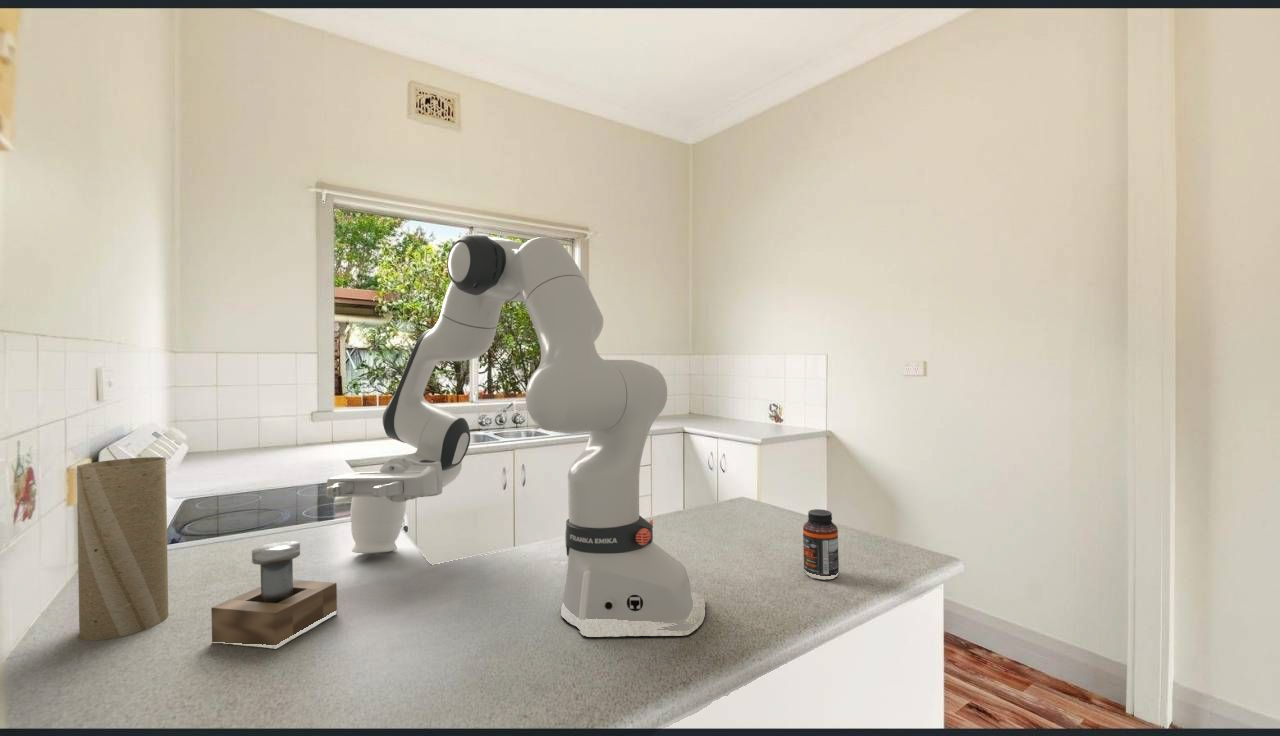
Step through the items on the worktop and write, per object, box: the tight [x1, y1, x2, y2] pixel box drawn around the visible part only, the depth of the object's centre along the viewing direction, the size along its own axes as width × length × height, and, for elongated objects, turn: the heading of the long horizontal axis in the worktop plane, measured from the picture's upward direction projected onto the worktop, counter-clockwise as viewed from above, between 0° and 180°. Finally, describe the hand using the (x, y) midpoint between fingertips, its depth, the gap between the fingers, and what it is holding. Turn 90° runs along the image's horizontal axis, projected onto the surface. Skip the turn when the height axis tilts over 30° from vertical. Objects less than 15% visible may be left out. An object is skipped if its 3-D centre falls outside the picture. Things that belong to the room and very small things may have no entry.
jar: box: [349, 496, 407, 554], centre depth 116 cm, size 11×10×15 cm
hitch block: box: [210, 579, 338, 645], centre depth 82 cm, size 11×11×5 cm
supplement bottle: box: [802, 508, 840, 576], centre depth 98 cm, size 6×6×11 cm
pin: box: [251, 541, 301, 603], centre depth 82 cm, size 6×6×12 cm
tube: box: [76, 456, 169, 642], centre depth 84 cm, size 10×10×25 cm
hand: (352, 492), depth 95 cm, fingers open, 8 cm apart
